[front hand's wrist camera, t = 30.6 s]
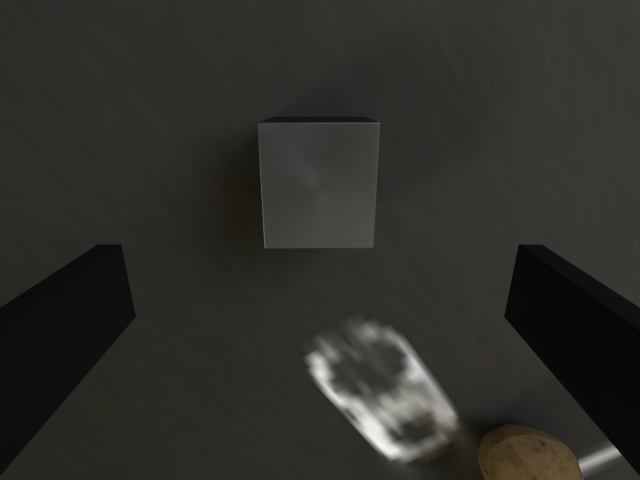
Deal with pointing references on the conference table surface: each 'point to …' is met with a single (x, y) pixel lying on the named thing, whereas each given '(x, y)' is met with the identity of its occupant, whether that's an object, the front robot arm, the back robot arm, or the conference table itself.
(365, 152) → the gray cube
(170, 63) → the conference table surface
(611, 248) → the conference table surface
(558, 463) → the potato
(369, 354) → the conference table surface
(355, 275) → the conference table surface
